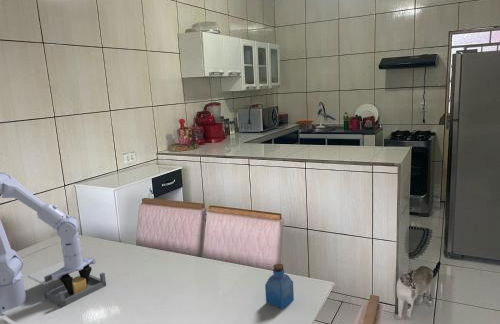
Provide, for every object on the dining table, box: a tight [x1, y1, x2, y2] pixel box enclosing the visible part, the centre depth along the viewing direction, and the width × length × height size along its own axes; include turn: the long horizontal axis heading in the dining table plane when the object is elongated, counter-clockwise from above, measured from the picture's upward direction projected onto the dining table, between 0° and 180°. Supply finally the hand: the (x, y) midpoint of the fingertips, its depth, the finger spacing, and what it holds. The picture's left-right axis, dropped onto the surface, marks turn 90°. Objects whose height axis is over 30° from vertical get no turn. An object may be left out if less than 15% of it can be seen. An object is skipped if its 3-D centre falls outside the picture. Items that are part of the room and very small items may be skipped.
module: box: [72, 275, 87, 295], centre depth 132 cm, size 4×4×5 cm
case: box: [42, 272, 107, 308], centre depth 133 cm, size 16×11×6 cm
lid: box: [27, 260, 76, 286], centre depth 138 cm, size 16×11×2 cm
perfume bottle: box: [264, 263, 295, 310], centre depth 120 cm, size 6×6×12 cm
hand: (77, 290), depth 133 cm, fingers open, 4 cm apart
